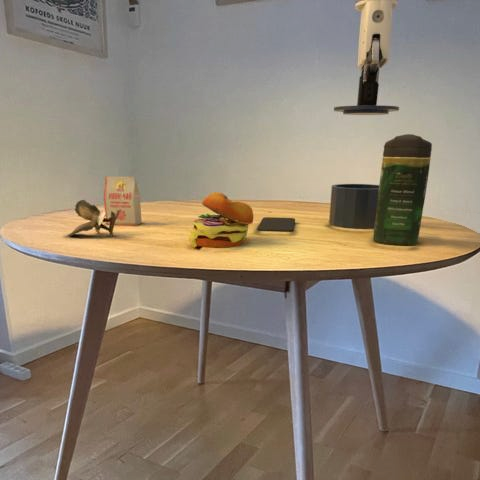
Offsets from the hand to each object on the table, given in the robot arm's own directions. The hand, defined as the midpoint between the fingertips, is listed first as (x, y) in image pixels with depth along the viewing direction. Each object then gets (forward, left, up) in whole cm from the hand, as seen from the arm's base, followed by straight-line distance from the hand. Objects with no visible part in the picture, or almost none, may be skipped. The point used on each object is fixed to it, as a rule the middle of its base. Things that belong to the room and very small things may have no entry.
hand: (366, 106), depth 93 cm
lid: (0, 0, -1) cm, 1 cm away
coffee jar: (-6, +16, -24) cm, 30 cm away
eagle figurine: (+52, +18, -24) cm, 60 cm away
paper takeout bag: (+51, +4, -24) cm, 56 cm away
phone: (+17, +4, -24) cm, 29 cm away
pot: (0, 0, -24) cm, 24 cm away
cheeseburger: (+26, +23, -24) cm, 42 cm away
